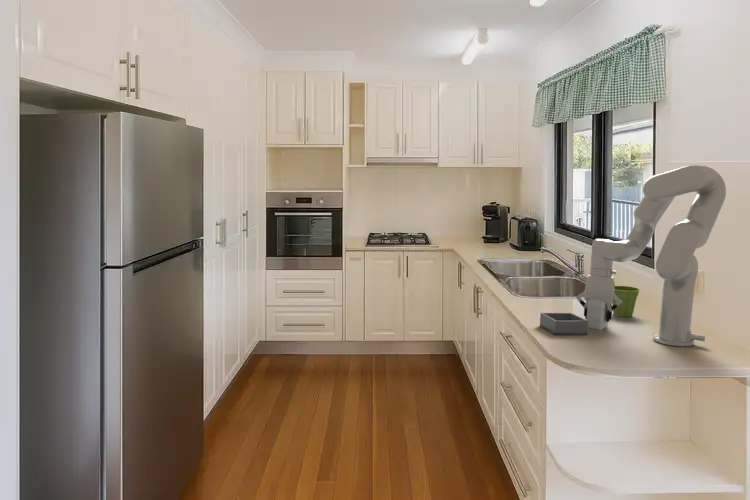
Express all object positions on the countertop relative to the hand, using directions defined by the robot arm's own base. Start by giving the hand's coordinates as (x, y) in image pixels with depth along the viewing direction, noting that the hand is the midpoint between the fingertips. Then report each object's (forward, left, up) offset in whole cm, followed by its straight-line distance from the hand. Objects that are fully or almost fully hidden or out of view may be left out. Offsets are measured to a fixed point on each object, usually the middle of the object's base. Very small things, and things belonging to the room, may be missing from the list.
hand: (597, 319), depth 230 cm
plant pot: (-6, -28, -3) cm, 29 cm away
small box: (0, 0, -3) cm, 3 cm away
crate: (+10, +13, -3) cm, 17 cm away
